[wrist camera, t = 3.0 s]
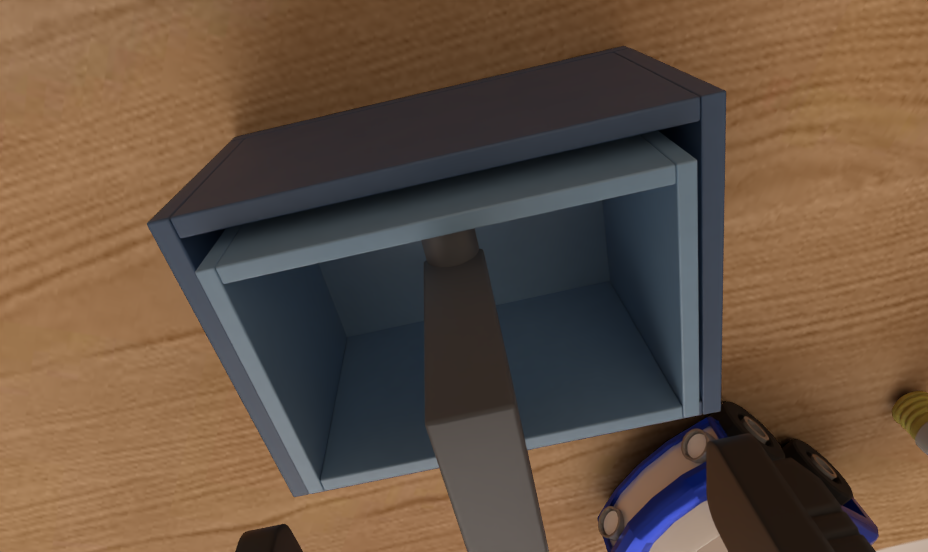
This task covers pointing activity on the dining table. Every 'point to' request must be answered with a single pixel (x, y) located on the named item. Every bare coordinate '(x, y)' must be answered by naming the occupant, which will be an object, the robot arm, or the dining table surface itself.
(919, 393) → the light bulb
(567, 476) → the dining table surface
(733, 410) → the toy car
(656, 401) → the light blue bin
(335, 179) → the dark blue bin
